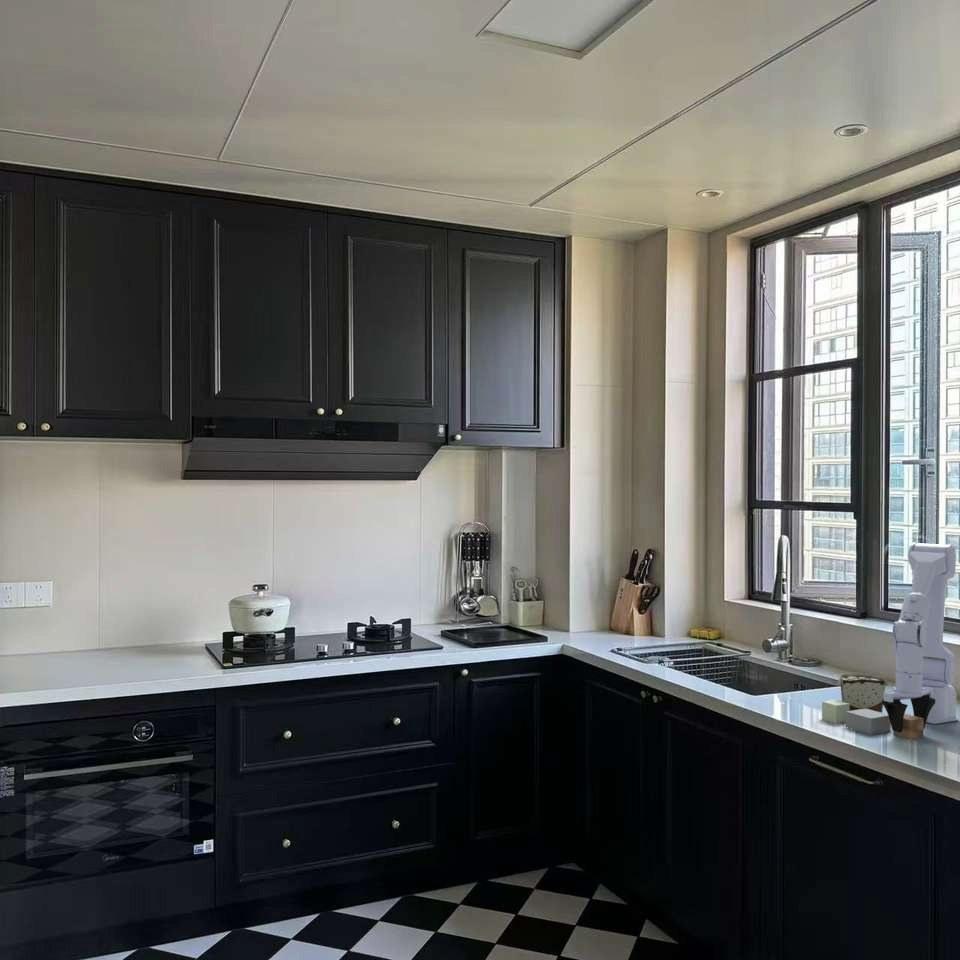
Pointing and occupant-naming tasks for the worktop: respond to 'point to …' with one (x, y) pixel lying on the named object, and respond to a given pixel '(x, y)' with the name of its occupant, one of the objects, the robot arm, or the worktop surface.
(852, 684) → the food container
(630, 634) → the worktop surface
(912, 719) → the walnut cube
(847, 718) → the slate block
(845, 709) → the sage cube
